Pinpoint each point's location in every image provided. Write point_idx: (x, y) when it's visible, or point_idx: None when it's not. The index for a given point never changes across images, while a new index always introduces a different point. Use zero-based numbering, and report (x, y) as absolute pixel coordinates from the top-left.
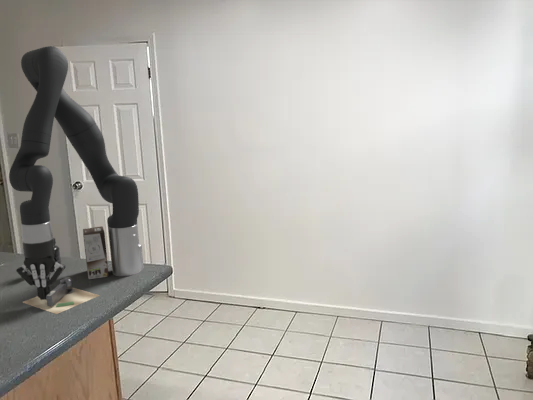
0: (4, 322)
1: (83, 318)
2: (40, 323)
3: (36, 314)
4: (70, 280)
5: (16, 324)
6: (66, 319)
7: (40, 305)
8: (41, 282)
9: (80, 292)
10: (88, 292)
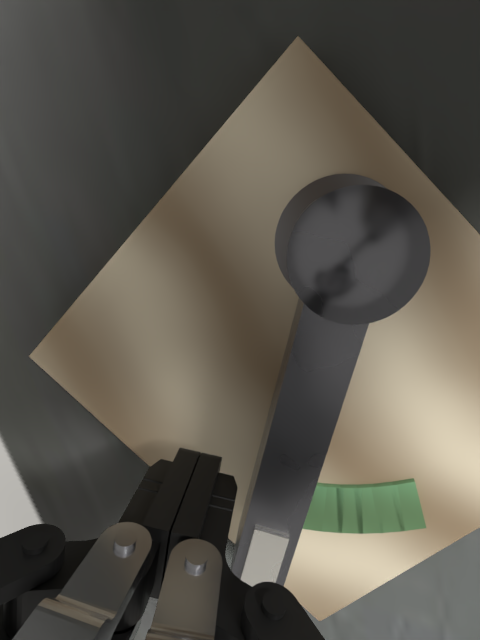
0: (40, 520)
1: (475, 630)
2: None
3: None
4: (417, 283)
5: None
6: (373, 606)
7: None
8: (136, 606)
9: (468, 295)
10: None
